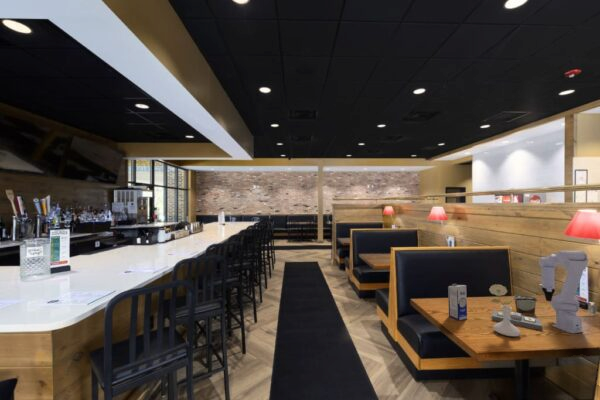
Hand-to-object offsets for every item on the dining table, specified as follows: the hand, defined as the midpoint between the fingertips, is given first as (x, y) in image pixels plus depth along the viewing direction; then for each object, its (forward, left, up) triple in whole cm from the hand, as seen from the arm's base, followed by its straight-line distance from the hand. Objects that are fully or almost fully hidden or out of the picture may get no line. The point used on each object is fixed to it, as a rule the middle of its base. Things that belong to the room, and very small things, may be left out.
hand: (548, 300), depth 163 cm
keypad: (-1, +25, -9) cm, 27 cm away
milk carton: (+11, +53, -10) cm, 55 cm away
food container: (+9, +8, -10) cm, 15 cm away
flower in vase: (-11, +44, -10) cm, 46 cm away
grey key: (-1, +25, -7) cm, 26 cm away
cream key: (-6, +21, -9) cm, 24 cm away
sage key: (+4, +29, -9) cm, 30 cm away
